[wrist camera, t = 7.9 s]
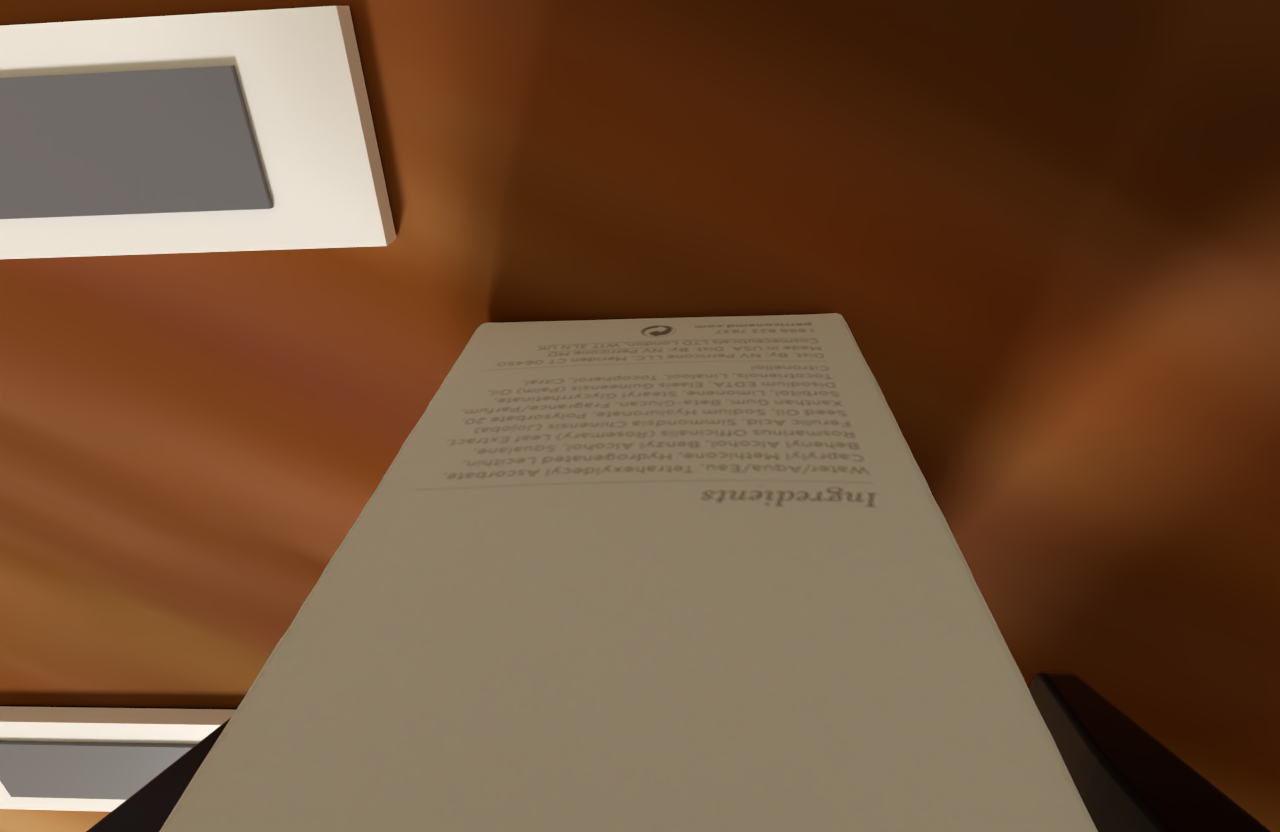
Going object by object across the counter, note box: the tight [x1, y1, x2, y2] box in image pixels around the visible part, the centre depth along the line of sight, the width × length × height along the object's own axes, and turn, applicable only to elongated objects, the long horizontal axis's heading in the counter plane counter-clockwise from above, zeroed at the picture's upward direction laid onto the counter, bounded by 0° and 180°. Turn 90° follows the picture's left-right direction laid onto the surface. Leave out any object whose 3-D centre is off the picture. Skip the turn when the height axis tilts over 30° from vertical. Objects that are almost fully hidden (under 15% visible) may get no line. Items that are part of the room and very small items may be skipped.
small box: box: [159, 313, 1098, 832], centre depth 9 cm, size 8×6×10 cm
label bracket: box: [0, 6, 396, 812], centre depth 14 cm, size 16×16×1 cm
